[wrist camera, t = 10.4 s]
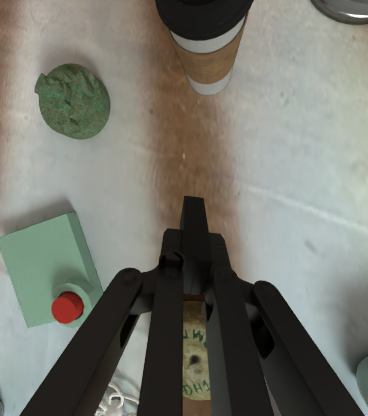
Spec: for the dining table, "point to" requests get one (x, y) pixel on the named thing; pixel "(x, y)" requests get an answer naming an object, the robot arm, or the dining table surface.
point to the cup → (363, 379)
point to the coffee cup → (205, 38)
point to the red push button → (67, 307)
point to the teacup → (1, 409)
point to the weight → (195, 353)
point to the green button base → (50, 268)
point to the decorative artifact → (73, 101)
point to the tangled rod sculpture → (115, 404)
